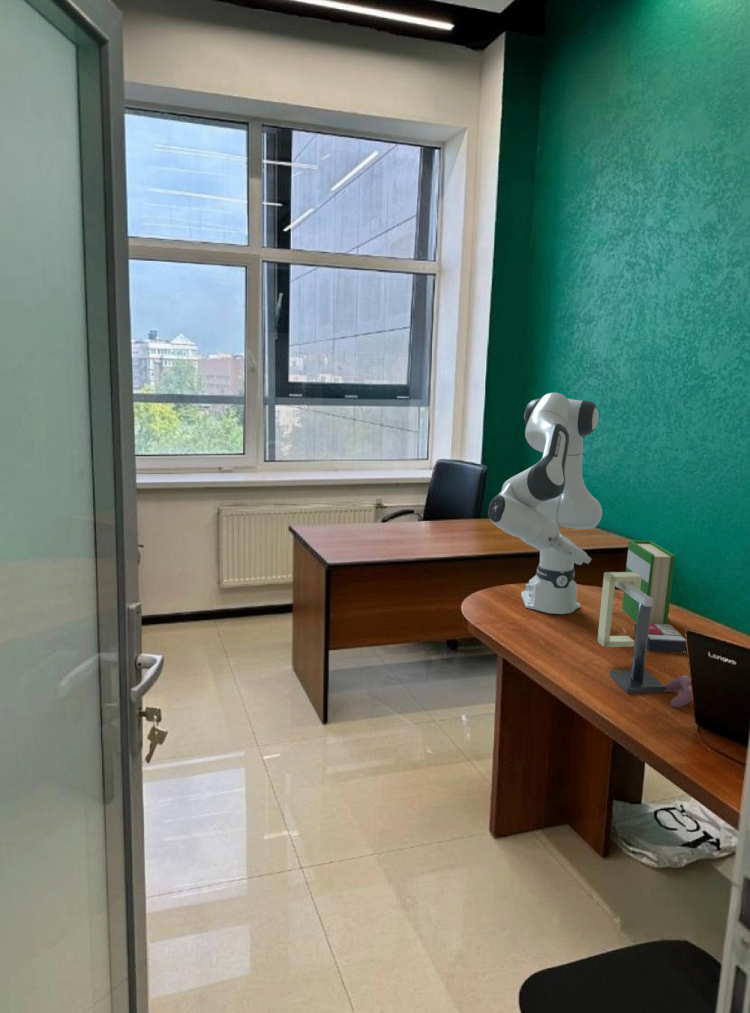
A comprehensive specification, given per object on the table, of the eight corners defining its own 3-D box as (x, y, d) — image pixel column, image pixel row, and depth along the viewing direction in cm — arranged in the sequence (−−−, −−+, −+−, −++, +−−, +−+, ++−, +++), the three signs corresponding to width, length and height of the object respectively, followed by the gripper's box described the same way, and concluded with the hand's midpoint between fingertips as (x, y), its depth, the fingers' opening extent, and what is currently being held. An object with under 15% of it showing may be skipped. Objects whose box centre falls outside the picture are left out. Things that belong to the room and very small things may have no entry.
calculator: (671, 623, 215) (689, 639, 200) (670, 636, 215) (687, 654, 201) (634, 621, 215) (649, 637, 201) (633, 634, 216) (648, 651, 201)
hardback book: (666, 629, 218) (675, 555, 213) (643, 629, 218) (651, 555, 213) (643, 609, 236) (651, 540, 231) (621, 609, 235) (629, 540, 230)
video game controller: (686, 715, 168) (703, 693, 166) (669, 705, 168) (686, 683, 166) (678, 697, 177) (694, 675, 175) (662, 687, 177) (678, 666, 175)
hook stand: (585, 650, 200) (592, 572, 195) (618, 650, 201) (626, 571, 196) (626, 693, 175) (636, 603, 170) (664, 692, 176) (675, 603, 171)
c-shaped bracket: (597, 641, 194) (604, 572, 190) (627, 640, 195) (634, 572, 191) (603, 647, 190) (610, 576, 186) (634, 646, 191) (641, 576, 187)
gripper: (566, 536, 175) (606, 558, 180) (532, 510, 194) (569, 530, 199) (552, 557, 176) (593, 579, 181) (519, 529, 195) (557, 549, 200)
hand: (580, 553), depth 190 cm, fingers open, 8 cm apart
